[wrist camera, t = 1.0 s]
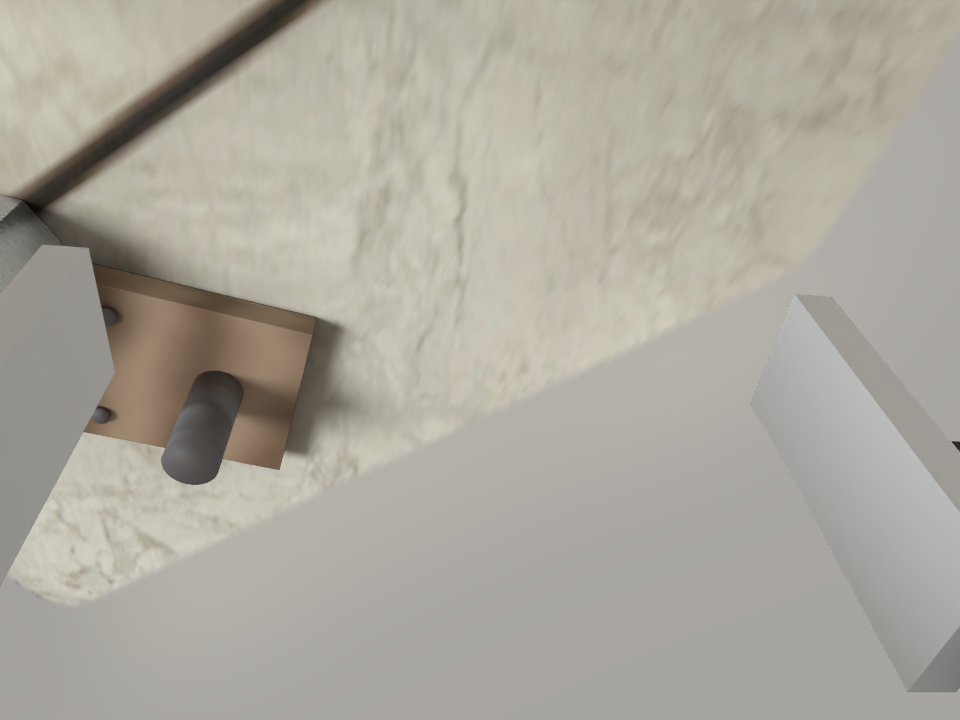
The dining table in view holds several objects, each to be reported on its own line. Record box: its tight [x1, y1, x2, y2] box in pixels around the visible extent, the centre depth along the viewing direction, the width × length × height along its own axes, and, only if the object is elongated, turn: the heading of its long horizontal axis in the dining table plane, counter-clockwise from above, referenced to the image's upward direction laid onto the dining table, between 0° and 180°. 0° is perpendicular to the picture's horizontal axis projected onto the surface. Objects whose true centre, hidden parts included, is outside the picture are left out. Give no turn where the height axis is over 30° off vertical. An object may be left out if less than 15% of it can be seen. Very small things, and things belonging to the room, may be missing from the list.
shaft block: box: [83, 264, 316, 485], centre depth 47 cm, size 14×12×9 cm
